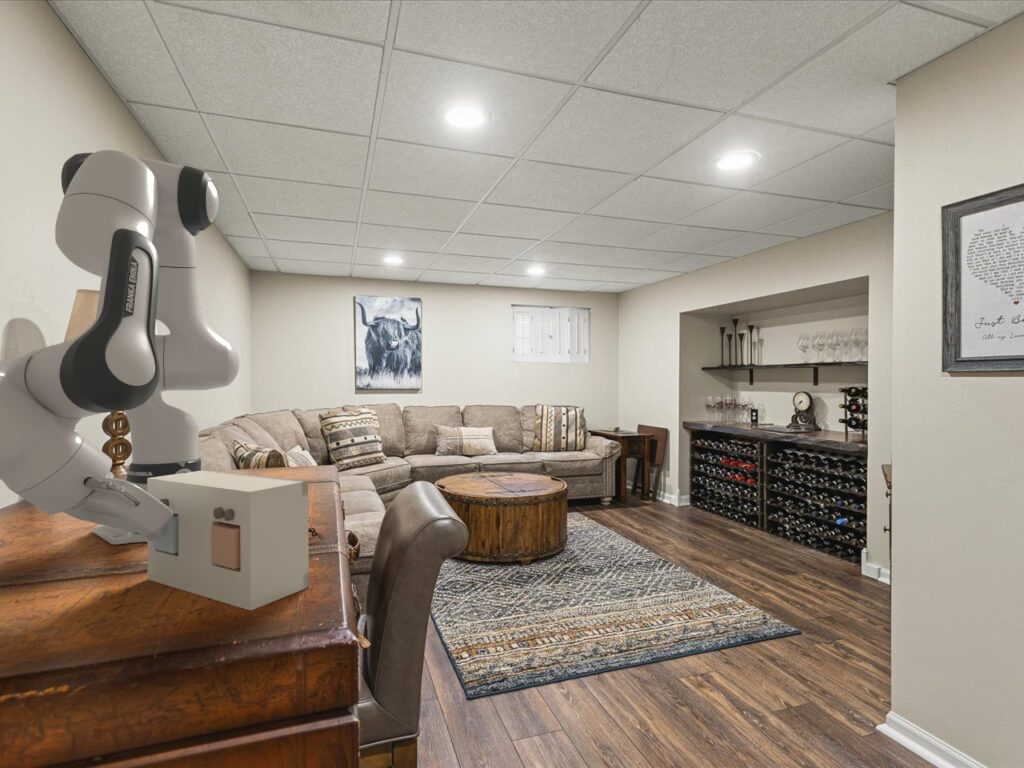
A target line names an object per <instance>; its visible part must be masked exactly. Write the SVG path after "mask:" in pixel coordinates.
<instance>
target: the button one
mask: <svg viewBox="0 0 1024 768" xmlns="http://www.w3.org/2000/svg"><path fill="white" fill-rule="evenodd" d="M219 523H223V522H219ZM161 531H162V533H161V535H160V536H159V537H158V538H157V539H156V541H153V542H154V549H157V550H161V551H165V552H169V553H177V552H178V514H174V513H173V516H172V518H171V519H170V521H169V522H168V523H167V524H166V525H165V527H164V528H163V529H162V530H161Z"/></svg>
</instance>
